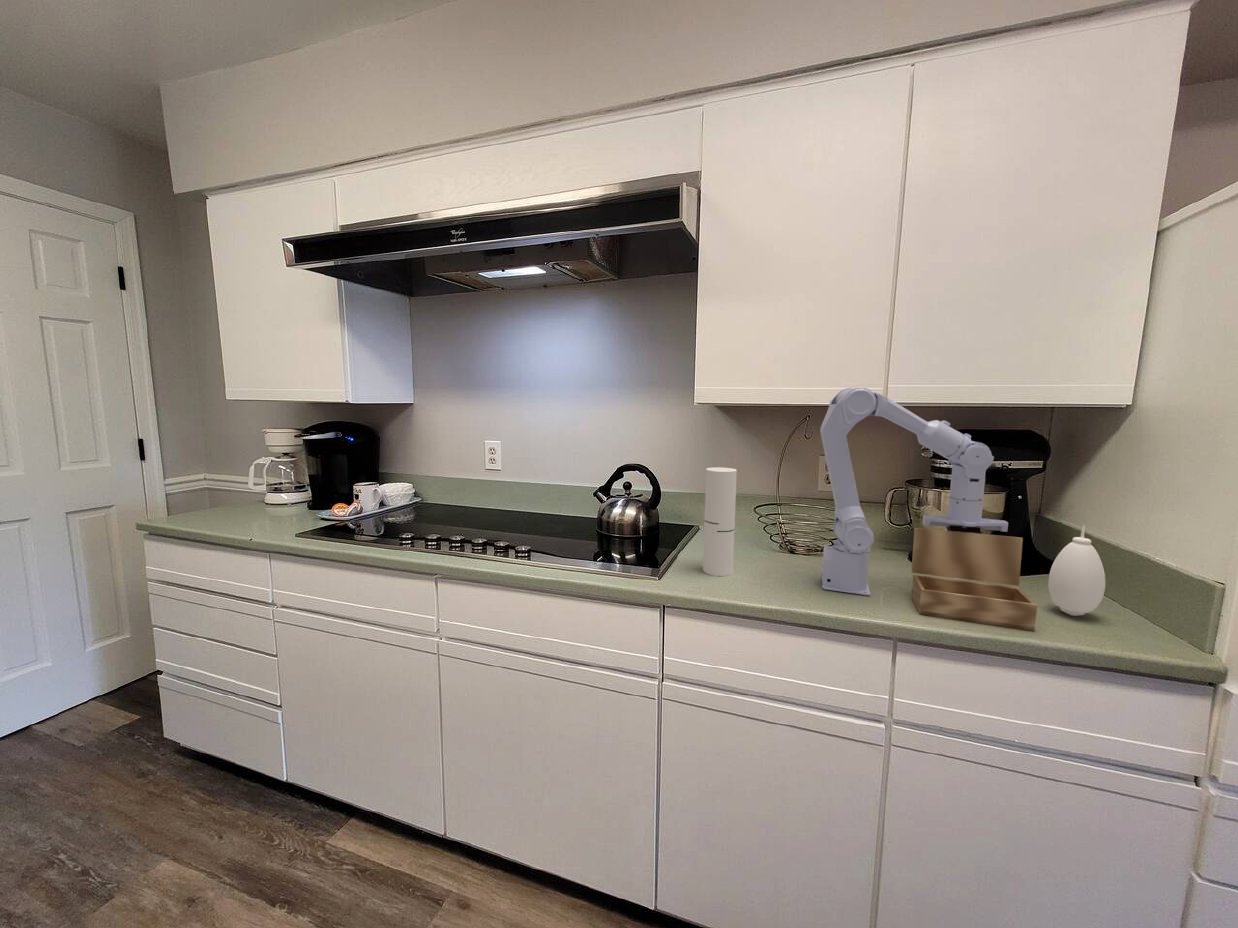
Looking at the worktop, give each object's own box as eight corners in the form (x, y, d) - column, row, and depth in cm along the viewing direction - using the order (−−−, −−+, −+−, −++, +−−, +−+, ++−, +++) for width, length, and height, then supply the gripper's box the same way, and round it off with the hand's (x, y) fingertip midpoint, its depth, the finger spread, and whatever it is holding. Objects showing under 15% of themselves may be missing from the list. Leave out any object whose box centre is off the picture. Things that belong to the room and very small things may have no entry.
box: (919, 614, 94) (921, 590, 94) (911, 597, 103) (913, 574, 102) (1034, 631, 88) (1037, 605, 87) (1015, 611, 96) (1018, 587, 95)
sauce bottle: (1068, 604, 100) (1079, 519, 97) (1111, 621, 92) (1124, 529, 90) (1034, 606, 99) (1045, 520, 96) (1075, 624, 91) (1088, 531, 88)
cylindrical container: (708, 564, 123) (711, 466, 119) (736, 569, 119) (740, 468, 116) (698, 572, 117) (701, 470, 113) (727, 578, 113) (731, 472, 110)
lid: (915, 528, 102) (914, 527, 103) (911, 572, 102) (911, 572, 103) (1022, 537, 95) (1021, 537, 96) (1018, 585, 96) (1017, 584, 96)
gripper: (930, 499, 100) (925, 563, 102) (1016, 504, 94) (1009, 571, 96) (922, 493, 106) (918, 553, 108) (1003, 497, 101) (997, 560, 103)
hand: (960, 561), depth 103 cm, fingers closed, pressing on lid
